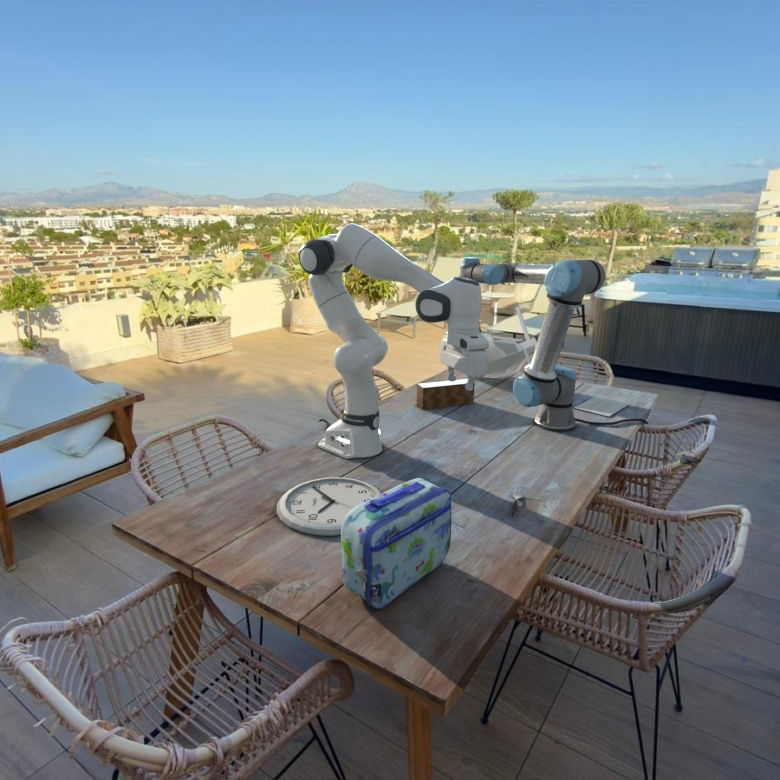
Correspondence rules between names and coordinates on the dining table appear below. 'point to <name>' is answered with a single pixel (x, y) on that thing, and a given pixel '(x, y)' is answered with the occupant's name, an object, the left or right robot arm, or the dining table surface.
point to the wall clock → (323, 504)
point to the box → (444, 394)
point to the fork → (517, 496)
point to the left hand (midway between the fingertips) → (460, 385)
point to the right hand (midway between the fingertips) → (465, 346)
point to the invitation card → (601, 406)
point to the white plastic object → (508, 350)
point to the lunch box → (395, 540)
